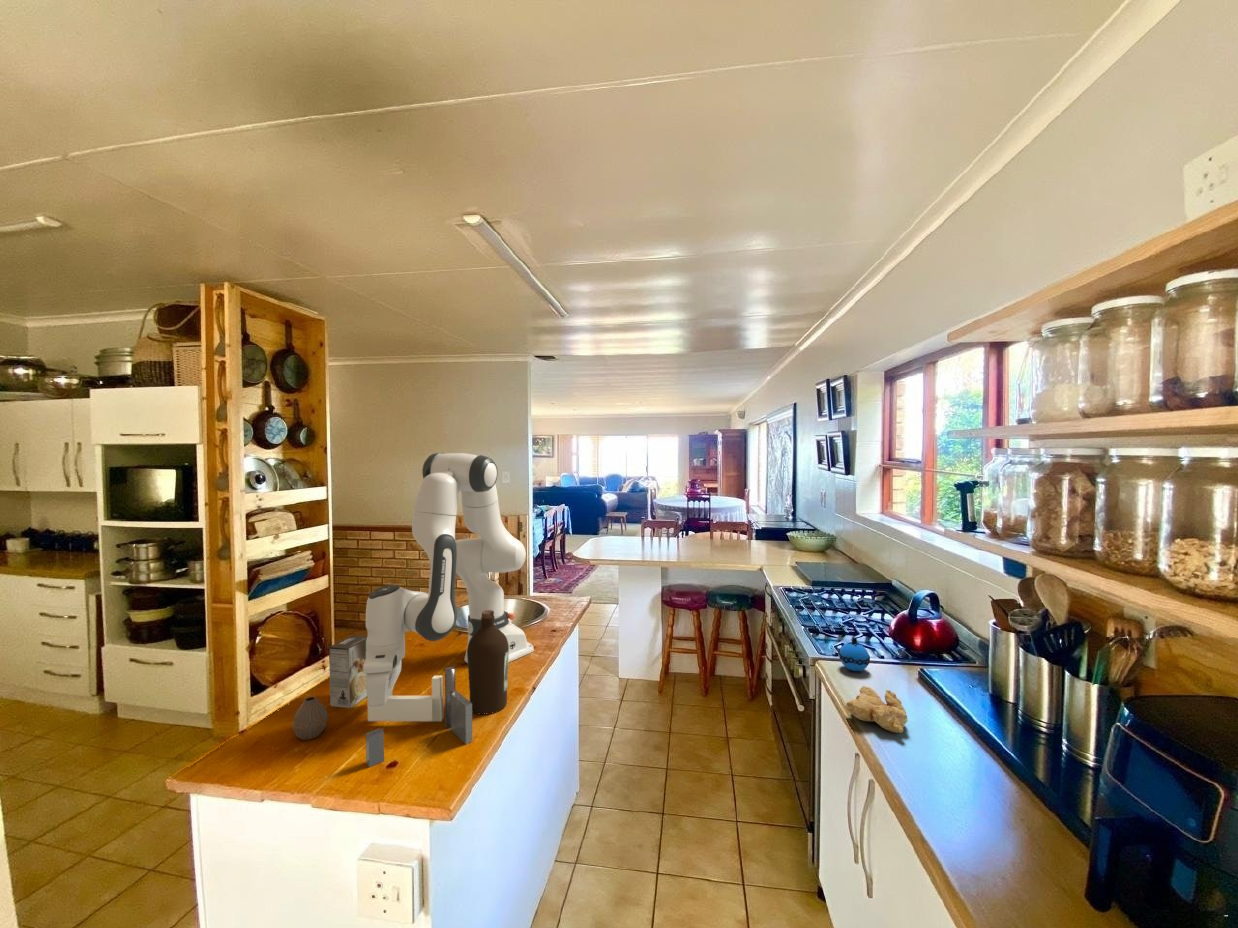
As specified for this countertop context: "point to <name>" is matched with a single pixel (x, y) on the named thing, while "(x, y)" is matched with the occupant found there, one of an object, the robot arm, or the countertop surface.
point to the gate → (412, 706)
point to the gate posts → (455, 718)
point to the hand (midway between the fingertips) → (386, 706)
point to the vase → (310, 719)
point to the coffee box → (347, 671)
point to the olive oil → (488, 666)
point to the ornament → (854, 656)
